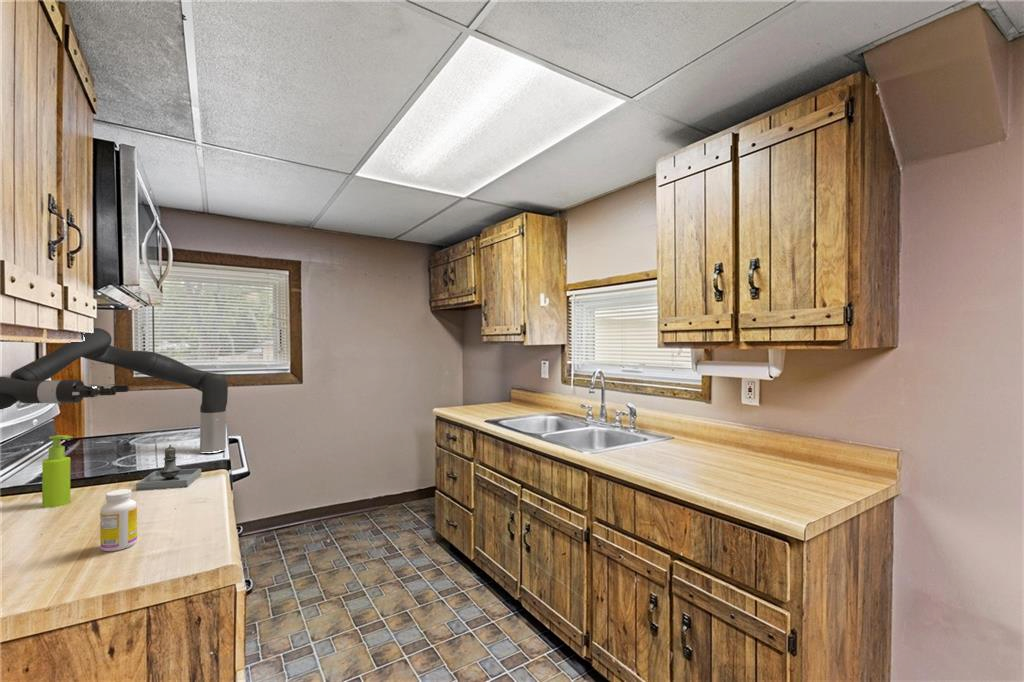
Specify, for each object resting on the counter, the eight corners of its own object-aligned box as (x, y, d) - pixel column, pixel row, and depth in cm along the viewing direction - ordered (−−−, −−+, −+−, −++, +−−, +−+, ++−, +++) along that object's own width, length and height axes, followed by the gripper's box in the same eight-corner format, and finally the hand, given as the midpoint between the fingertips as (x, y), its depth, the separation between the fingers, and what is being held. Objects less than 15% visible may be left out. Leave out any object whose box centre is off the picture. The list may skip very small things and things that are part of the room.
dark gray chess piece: (169, 483, 156) (169, 447, 156) (154, 482, 157) (154, 446, 157) (185, 478, 162) (185, 443, 162) (170, 477, 163) (170, 442, 163)
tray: (154, 478, 164) (154, 471, 164) (201, 475, 168) (201, 468, 168) (136, 490, 151) (136, 483, 151) (187, 487, 155) (187, 479, 155)
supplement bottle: (132, 537, 117) (133, 485, 116) (140, 545, 112) (140, 491, 112) (97, 546, 111) (97, 492, 111) (103, 555, 107) (103, 498, 107)
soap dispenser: (60, 508, 135) (60, 438, 135) (36, 507, 135) (36, 437, 135) (79, 500, 141) (79, 433, 141) (56, 500, 141) (56, 433, 141)
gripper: (47, 382, 146) (111, 380, 151) (74, 377, 159) (131, 376, 164) (47, 406, 146) (111, 404, 151) (74, 400, 159) (132, 398, 164)
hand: (121, 390), depth 157 cm, fingers open, 8 cm apart
